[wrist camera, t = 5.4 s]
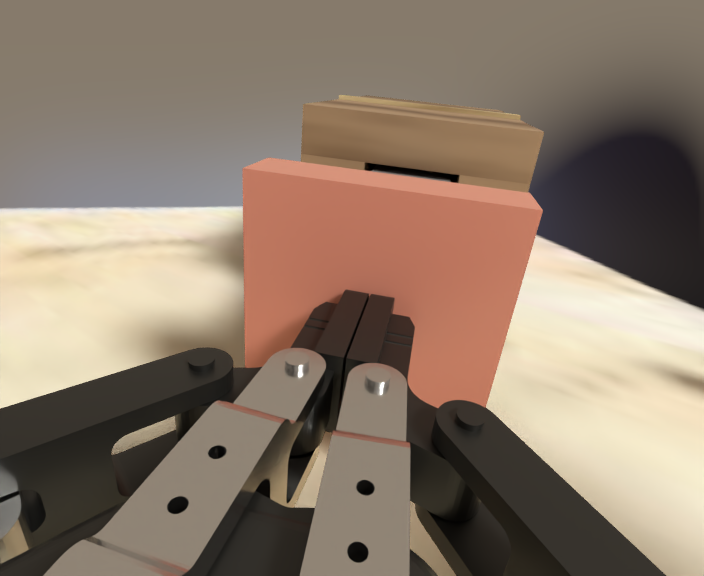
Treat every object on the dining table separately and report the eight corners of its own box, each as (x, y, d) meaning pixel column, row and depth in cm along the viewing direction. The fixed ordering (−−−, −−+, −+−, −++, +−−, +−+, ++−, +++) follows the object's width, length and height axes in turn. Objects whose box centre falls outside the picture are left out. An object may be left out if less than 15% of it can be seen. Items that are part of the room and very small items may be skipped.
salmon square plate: (474, 446, 15) (542, 210, 11) (245, 396, 16) (242, 168, 12) (460, 247, 32) (484, 132, 29) (353, 230, 33) (365, 118, 30)
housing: (484, 357, 27) (546, 126, 21) (293, 321, 28) (302, 98, 23) (469, 248, 45) (501, 107, 39) (353, 230, 46) (367, 92, 40)
